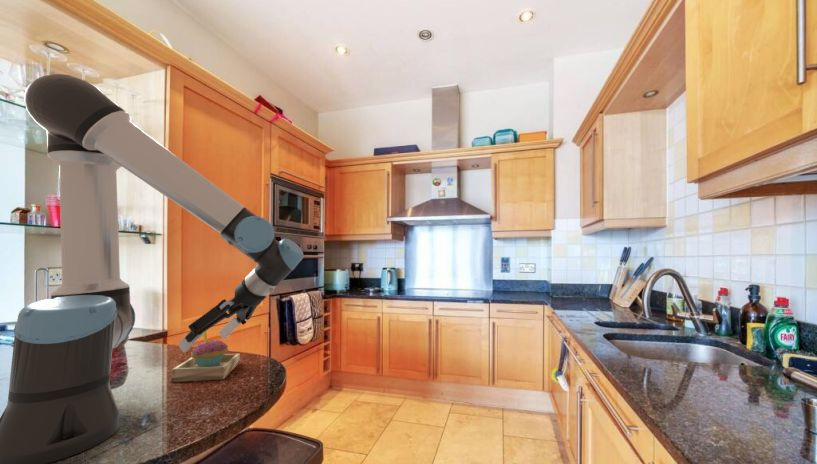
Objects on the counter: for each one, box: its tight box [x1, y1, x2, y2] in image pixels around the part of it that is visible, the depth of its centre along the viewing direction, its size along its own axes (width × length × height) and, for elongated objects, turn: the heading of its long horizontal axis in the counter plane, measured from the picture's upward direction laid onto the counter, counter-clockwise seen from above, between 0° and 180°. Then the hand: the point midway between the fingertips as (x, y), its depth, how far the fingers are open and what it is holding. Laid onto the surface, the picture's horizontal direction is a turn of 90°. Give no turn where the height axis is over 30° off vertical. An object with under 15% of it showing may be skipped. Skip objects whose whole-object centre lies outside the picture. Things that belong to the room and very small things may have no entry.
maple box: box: [170, 353, 241, 383], centre depth 86 cm, size 12×12×3 cm
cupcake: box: [190, 330, 229, 367], centre depth 87 cm, size 9×8×12 cm
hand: (203, 341), depth 87 cm, fingers open, 13 cm apart
